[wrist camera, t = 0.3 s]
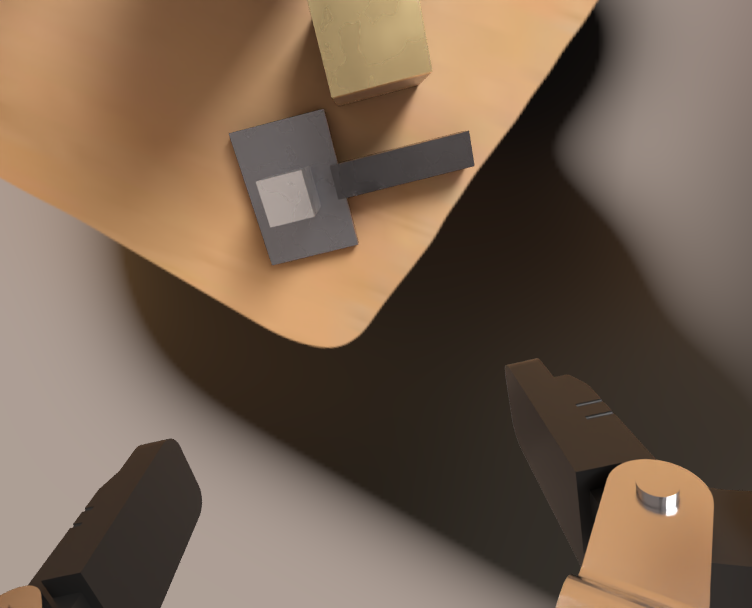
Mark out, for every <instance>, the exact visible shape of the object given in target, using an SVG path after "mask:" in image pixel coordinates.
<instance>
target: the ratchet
mask: <svg viewBox="0 0 752 608" xmlns="http://www.w3.org/2000/svg"><path fill="white" fill-rule="evenodd" d="M229 136H230V139H231V142H232V145H233V148H234V151H235V154H236V157H237V160H238V163H239V166H240V169H241V172H242V175H243V178H244V181H245V184H246V188H247V191H248V194H249V197H250V200H251V203H252V206H253V209H254V212H255V215H256V218H257V221H258V224H259V227H260V230H261V233H262V236H263V239H264V242H265V245H266V248H267V251H268V254H269V257H270V260H271V263H272V265H276V264H280V263H284V262H288V261H292V260H296V259H300V258H305V257H309V256H313V255H317V254H321V253H325V252H329V251H333V250H337V249H342V248H346V247H350V246H354V245H358V238H357V234H356V230H355V226H354V223H353V219H352V215H351V211H350V207H349V203H348V199H347V198H348V197H352V196H356V195H360V194H364V193H368V192H372V191H376V190H380V189H384V188H388V187H392V186H396V185H400V184H404V183H408V182H412V181H416V180H420V179H424V178H428V177H432V176H436V175H440V174H444V173H448V172H452V171H456V170H460V169H464V168H468V167H472V166H474V160H473V153H472V147H471V141H470V134H469V131H462V132H458V133H454V134H450V135H446V136H442V137H438V138H435V139H431V140H427V141H423V142H419V143H415V144H411V145H407V146H403V147H399V148H395V149H391V150H387V151H383V152H379V153H375V154H371V155H368V156H364V157H360V158H356V159H352V160H348V161H344V162H340V163H338V160H337V156H336V153H335V149H334V145H333V141H332V137H331V133H330V129H329V125H328V121H327V118H326V114H325V110H324V109H321V110H317V111H313V112H309V113H305V114H302V115H298V116H294V117H290V118H286V119H282V120H279V121H275V122H271V123H267V124H263V125H259V126H256V127H252V128H248V129H244V130H240V131H236V132H233V133H229Z"/></svg>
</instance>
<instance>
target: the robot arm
mask: <svg viewBox="0 0 752 608" xmlns="http://www.w3.org/2000/svg"><path fill="white" fill-rule="evenodd" d="M505 375H506V381H507V389H508V395H509V402H510V408H511V415H512V421H513V425H514V430H515V434H516V437H517V440H518V442H519V445H520V447H521V449H522V451H523V453H524V455H525V457H526V459H527V461H528V463H529V465H530V467H531V469H532V471H533V473H534V475H535V477H536V479H537V481H538V483H539V485H540V487H541V489H542V491H543V493H544V495H545V497H546V499H547V501H548V502H549V505H550V507H551V508H552V510H553V512H554V514H555V516H556V518H557V520H558V522H559V524H560V526H561V528H562V530H563V532H564V534H565V536H566V538H567V540H568V542H569V544H570V546H571V548H572V550H573V552H574V554H575V556H576V558H577V560H578V562H579V564H580V566H581V570H580V573H579V575H578V576H576V575H573V574H570V575H569V576H568V577H567V579H566V580H565V582H564V585H563V587H562V590H561V593H560V596H559V599H558V602H557V605H556V608H752V491H739V490H723V489H716V488H710V487H707V486H706V484H705V483H704V482H703V481H701V479H699V478H698V477H697V476H696V475H694V474H693V473H691V472H690V471H688V470H686V469H684V468H682V467H680V466H677V465H674V464H672V463H668V462H664V461H659V460H656V459H655V458H654V457H653V455H652V454H651V453H650V452H649V451H648V450H647V449H646V448H645V447H644V446H643V445H642V443H641V442H640V441H639V440H638V439H637V438H636V437H635V436H634V434H633V433H632V432H631V431H630V430H629V429H628V428H627V427H626V426H625V425H624V423H623V422H622V421H621V420H620V419H619V418H618V417H617V416H616V415H615V414H613V413H612V410H611V409H610V408H609V407H608V406H607V405H606V404H605V402H602V400H601V398H600V397H599V396H598V395H597V394H596V392H595V391H593V389H592V388H591V387H590V386H589V385H588V384H586V383H584V382H582V381H580V380H578V379H576V378H574V377H572V376H570V375H568V374H567V375H562V376H558V377H553V376H552V374H551V373H550V372H549V371H548V369H547V368H546V367H545V366H544V364H543V363H542V362H541V360H540V359H538V358H537V359H532V360H527V361H523V362H518V363H514V364H509V365H506V366H505ZM201 507H202V496H201V491H200V488H199V485H198V483H197V481H196V479H195V477H194V475H193V473H192V470H191V469H190V466H189V464H188V462H187V460H186V458H185V456H184V454H183V452H182V450H181V447H180V445H179V444H178V442H176V441H175V440H174V439H166V440H161V441H157V442H152V443H148V444H144V445H140V446H138V447H137V448H136V449H135V450H134V452H133V453H132V454H131V456H130V457H129V459H128V460H127V461H126V463H125V464H124V465H123V467H122V468H121V470H120V471H119V472H118V473H117V474H116V475H114V476H113V477H112V478H111V479H110V480H109V481H108V482H107V483H106V484H104V485H103V486H102V487H101V488H100V489H99V490H98V491H97V493H96V494H95V495H94V497H93V498H92V500H91V501H90V502H89V503H88V505H87V506H86V507H85V511H84V512H82V513H81V514H80V516H79V517H78V518H77V520H76V521H75V523H74V524H73V525H74V527H73V528H70V529H69V530H68V532H67V533H66V534H65V536H64V538H63V539H62V540H61V541H60V543H59V544H58V545H57V547H56V548H55V550H54V551H53V552H52V553H51V555H50V556H49V557H48V559H47V560H46V562H45V563H44V564H43V566H42V567H41V568H40V570H39V571H38V572H37V574H36V575H35V576H34V578H33V579H32V580H31V582H30V583H29V585H28V586H23V587H18V588H15V589H12V590H10V591H8V592H6V593H4V594H2V595H0V608H160V607H161V605H162V603H163V601H164V598H165V596H166V594H167V591H168V589H169V586H170V584H171V582H172V579H173V577H174V574H175V572H176V570H177V568H178V565H179V563H180V560H181V558H182V556H183V554H184V551H185V549H186V547H187V544H188V542H189V539H190V537H191V535H192V532H193V530H194V528H195V525H196V523H197V521H198V518H199V516H200V513H201Z"/></svg>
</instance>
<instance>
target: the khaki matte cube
mask: <svg viewBox="0 0 752 608" xmlns="http://www.w3.org/2000/svg"><path fill="white" fill-rule="evenodd" d="M307 1H308V5H309V9H310V13H311V17H312V21H313V25H314V29H315V33H316V37H317V41H318V45H319V49H320V53H321V57H322V61H323V65H324V69H325V73H326V77H327V81H328V85H329V89H330V93H331V97H332V99H333V100H334V102H335V103H336V104H337V106H341V105H345V104H348V103H352V102H356V101H360V100H364V99H368V98H371V97H375V96H379V95H383V94H387V93H391V92H394V91H398V90H402V89H406V88H410V87H414V86H417V85H419V84H420V83H421V82H422V81H423V80H424V79H425V78H426V77H427V76H428V75H429V74H430V73H431V72H432V67H431V62H430V56H429V51H428V45H427V39H426V34H425V28H424V22H423V17H422V11H421V5H420V0H307Z"/></svg>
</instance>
